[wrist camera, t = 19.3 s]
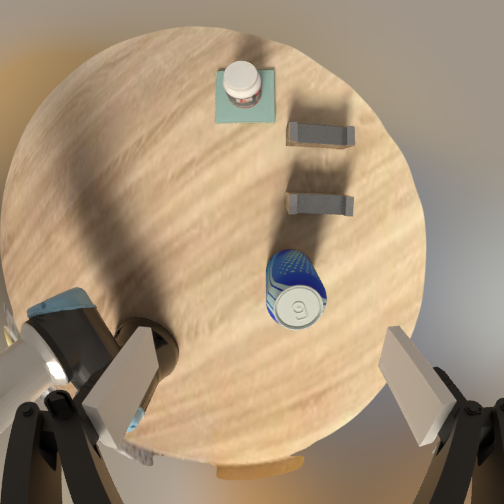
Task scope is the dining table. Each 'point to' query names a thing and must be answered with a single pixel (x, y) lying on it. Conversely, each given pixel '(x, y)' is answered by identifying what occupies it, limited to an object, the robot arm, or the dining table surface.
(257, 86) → the pill bottle
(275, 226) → the dining table surface
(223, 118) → the coaster
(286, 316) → the beer can
